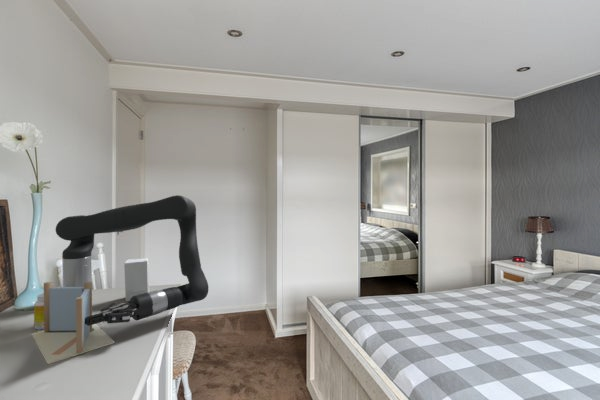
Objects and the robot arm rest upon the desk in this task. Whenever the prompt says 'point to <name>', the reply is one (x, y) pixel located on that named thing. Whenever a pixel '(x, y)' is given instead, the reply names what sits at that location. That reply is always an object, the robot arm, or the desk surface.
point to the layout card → (68, 343)
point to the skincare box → (136, 277)
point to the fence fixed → (62, 306)
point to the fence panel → (82, 319)
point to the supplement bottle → (39, 312)
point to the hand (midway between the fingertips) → (86, 321)
